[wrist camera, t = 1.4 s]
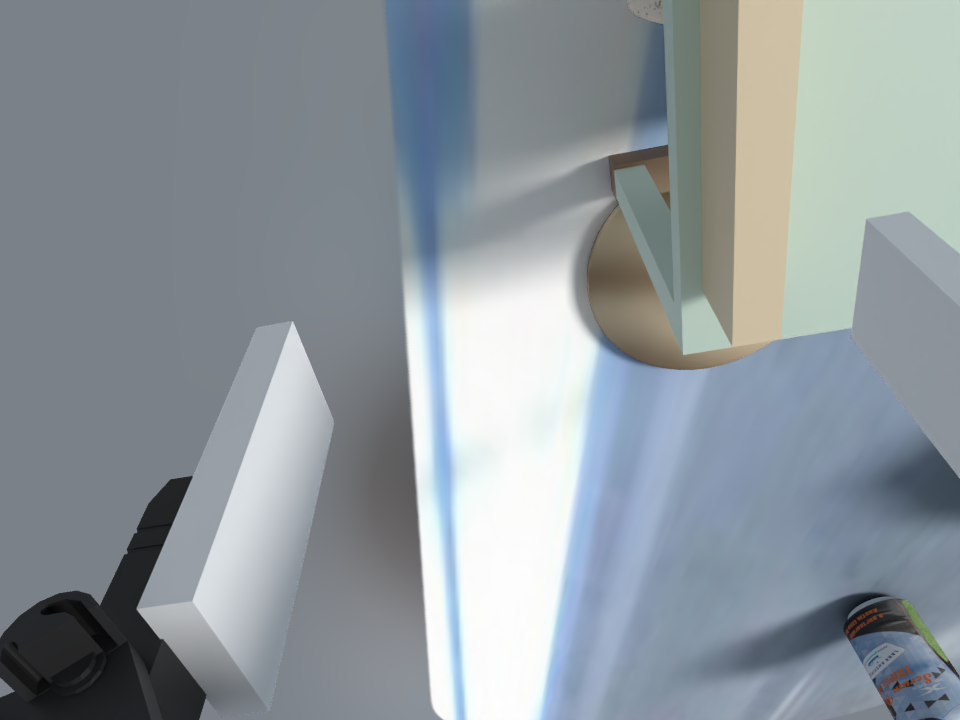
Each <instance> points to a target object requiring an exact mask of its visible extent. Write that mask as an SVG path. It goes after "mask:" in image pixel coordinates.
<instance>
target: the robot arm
mask: <svg viewBox="0 0 960 720" xmlns="http://www.w3.org/2000/svg"><path fill="white" fill-rule="evenodd" d="M851 339H852V341H853V342H854V343H855V345H856V346H857V347H858V348H859V350H860V351H861V352H862V354H863V355H864V356H865V357H866V359H867V360H868V361H869V363H870V364H871V365H872V366H873V368H874V369H875V370H876V372H877V373H878V374H879V375H880V377H881V378H882V379H883V381H884V382H885V383H886V384H887V386H888V387H889V388H890V390H891V391H892V392H893V393H894V395H895V396H896V397H897V399H898V400H899V401H900V402H901V404H902V405H903V406H904V408H905V409H906V410H907V411H908V413H909V414H910V415H911V417H912V418H913V419H914V420H915V422H916V423H917V424H918V426H919V427H920V428H921V429H922V431H923V432H924V433H925V435H926V436H927V437H928V438H929V440H930V441H931V442H932V444H933V445H934V446H935V447H936V449H937V450H938V451H939V453H940V454H941V455H942V456H943V458H944V459H945V460H946V462H947V463H948V464H949V465H950V467H951V468H952V469H953V471H954V472H955V473H956V474H957V476H958V477H959V478H960V254H959V253H958V252H957V251H956V250H954V249H953V248H952V247H951V246H950V245H948V244H947V243H946V242H945V241H944V240H942V239H941V238H940V237H939V236H938V235H936V234H935V233H934V232H933V231H932V230H930V229H929V228H928V227H927V226H926V225H924V224H923V223H922V222H921V221H920V220H918V219H917V218H916V217H915V216H914V215H912V214H911V213H910V212H909V211H908V212H902V213H897V214H891V215H886V216H880V217H874V218H869V219H866V224H865V232H864V240H863V247H862V255H861V262H860V270H859V278H858V285H857V293H856V301H855V308H854V316H853V324H852V331H851ZM333 426H334V420H333V418H332V415H331V413H330V410H329V408H328V405H327V403H326V401H325V398H324V396H323V393H322V391H321V389H320V386H319V384H318V381H317V379H316V377H315V374H314V372H313V369H312V367H311V364H310V362H309V359H308V357H307V355H306V352H305V350H304V348H303V345H302V343H301V340H300V338H299V335H298V333H297V330H296V328H295V326H294V323H293V321H290V322H285V323H279V324H274V325H268V326H263V327H257V328H256V330H255V333H254V335H253V338H252V340H251V342H250V344H249V347H248V349H247V351H246V354H245V356H244V358H243V361H242V363H241V365H240V368H239V370H238V373H237V375H236V377H235V379H234V382H233V385H232V387H231V389H230V391H229V394H228V396H227V398H226V401H225V403H224V405H223V408H222V410H221V412H220V415H219V417H218V419H217V422H216V424H215V426H214V429H213V431H212V433H211V436H210V438H209V441H208V443H207V445H206V447H205V450H204V452H203V454H202V457H201V459H200V461H199V464H198V466H197V469H196V471H195V473H194V475H193V476H190V477H183V478H177V479H171V480H170V481H169V482H168V483H167V484H166V485H165V486H164V487H163V488H162V489H161V490H160V492H159V493H158V494H157V495H156V496H155V497H154V498H153V499H152V500H151V502H150V503H149V504H148V506H147V508H146V510H145V512H144V514H143V517H142V519H141V521H140V523H139V525H138V527H137V533H135V534H134V536H133V538H132V540H131V542H130V544H129V546H128V548H127V551H128V554H125V555H124V556H123V559H122V561H121V563H120V565H119V567H118V569H117V571H116V573H115V575H114V577H113V579H112V582H111V584H110V586H109V588H108V590H107V592H106V594H105V597H104V598H103V600H102V603H101V605H100V606H99V604H98V603H97V602H96V601H95V600H94V598H93V597H92V596H91V595H90V594H87V593H83V592H80V591H72V592H65V593H59V594H56V595H54V596H52V597H50V598H47V599H45V600H43V601H40V602H39V603H37V604H36V605H34V606H33V607H31V608H30V609H29V610H27V611H26V612H24V613H23V614H22V615H20V616H19V617H18V618H17V619H16V620H15V621H14V622H13V623H12V624H11V626H10V627H9V628H8V629H7V630H6V631H5V632H4V633H3V635H2V636H1V638H0V678H1V679H3V680H4V681H5V682H6V683H7V684H8V685H9V686H10V687H11V688H12V689H13V690H14V691H15V692H13V693H10V694H8V695H6V696H3V697H1V698H0V720H199V718H200V715H201V712H202V709H203V705H204V702H205V699H206V698H207V700H208V701H209V702H210V703H211V705H212V706H213V707H214V709H215V710H216V711H217V712H218V714H219V715H220V716H221V717H228V716H236V715H245V714H253V713H261V712H269V711H270V708H271V703H272V698H273V694H274V690H275V685H276V681H277V676H278V672H279V667H280V663H281V658H282V654H283V649H284V645H285V640H286V636H287V631H288V627H289V623H290V618H291V614H292V609H293V605H294V600H295V595H296V591H297V587H298V582H299V578H300V573H301V569H302V564H303V560H304V556H305V551H306V547H307V542H308V537H309V533H310V529H311V524H312V520H313V515H314V511H315V507H316V502H317V497H318V493H319V489H320V484H321V480H322V475H323V471H324V466H325V462H326V457H327V453H328V449H329V444H330V440H331V435H332V431H333Z"/></svg>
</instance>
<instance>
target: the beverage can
mask: <svg viewBox="0 0 960 720" xmlns="http://www.w3.org/2000/svg"><path fill="white" fill-rule="evenodd" d="M844 632H845V634H846V636H847V638H848V639H849V641H850V643H851V645H852V646H853V648H854V650H855V652H856V653H857V655H858V657H859V659H860V660H861V662H862V664H863V666H864V667H865V669H866V671H867V673H868V674H869V676H870V678H871V680H872V681H873V683H874V685H875V687H876V688H877V690H878V692H879V694H880V695H881V697H882V699H883V701H884V702H885V704H886V706H887V707H888V709H889V711H890V713H891V715H892V716H893V718H894V720H960V676H959V675H958V673H957V672H956V670H955V669H954V667H953V666H952V664H951V663H950V661H949V660H948V658H947V657H946V655H945V654H944V652H943V651H942V649H941V648H940V646H939V645H938V643H937V642H936V640H935V639H934V637H933V636H932V634H931V633H930V631H929V630H928V628H927V627H926V625H925V624H924V622H923V621H922V619H921V618H920V616H919V615H918V613H917V612H916V610H915V609H914V607H913V606H912V604H911V603H910V602H909V601H906V600H903V599H896V598H894V597H879V598H875V599H872V600H869V601H867V602H864V603H862V604H861V605H859V606H857V607H856V608H855V609H854V610H852V611H851V613H850V614H849V616H848V620H847V621H846V623H845V625H844Z"/></svg>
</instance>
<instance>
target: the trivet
mask: <svg viewBox="0 0 960 720" xmlns="http://www.w3.org/2000/svg"><path fill="white" fill-rule="evenodd" d="M660 194H661V195H662V197H663V199H664V201H665V203H666V204H667V206H668V208H669V210H670V212H671V206H670V191H669V192H664V193H660ZM587 289H588V294H589V299H590V303H591V307H592V310H593V313H594V315H595V318H596V320H597V322H598V324H599V326H600V328H601V329H602V331H603V332H604V333H605V335H606V336H607V337H608V338H609V340H610V341H611V342H612V343H614V344H615V345H616V346H617V347H618V348H619V349H620V350H622V351H623V352H625V353H626V354H628V355H629V356H631V357H633V358H635V359H637V360H639V361H641V362H644V363H647V364H650V365H653V366H657V367H662V368H667V369H677V370H694V369H704V368H710V367H715V366H720V365H723V364H727V363H730V362H733V361H736V360H738V359H741V358H743V357H745V356H748V355H750V354H752V353H754V352H756V351H757V350H759V349H761V348H763V347H764V346H766V345H767V344H769V343H770V342H772V341H768V342H761V343H755V344H749V345H743V346H737V347H730V348H724V349H718V350H711V351H705V352H699V353H693V354H687V355H683V354H682V351H681V349H680V347H679V344H678V342H677V340H676V337H675V335H674V333H673V330H672V328H671V326H670V323H669V321H668V318H667V316H666V314H665V311H664V309H663V307H662V304H661V302H660V300H659V297H658V295H657V293H656V290H655V288H654V286H653V283H652V281H651V278H650V276H649V274H648V271H647V269H646V267H645V264H644V262H643V260H642V257H641V255H640V253H639V250H638V248H637V245H636V243H635V241H634V238H633V236H632V234H631V231H630V229H629V227H628V224H627V222H626V220H625V217H624V215H623V213H622V210H621V208H620V205H618V206H617V207H616V208H615V209H614V210H613V212H612V213H611V214H610V216H609V217H608V218H607V220H606V221H605V222H604V224H603V226H602V228H601V230H600V231H599V233H598V235H597V237H596V240H595V242H594V245H593V247H592V250H591V254H590V258H589V262H588V271H587Z"/></svg>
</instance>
